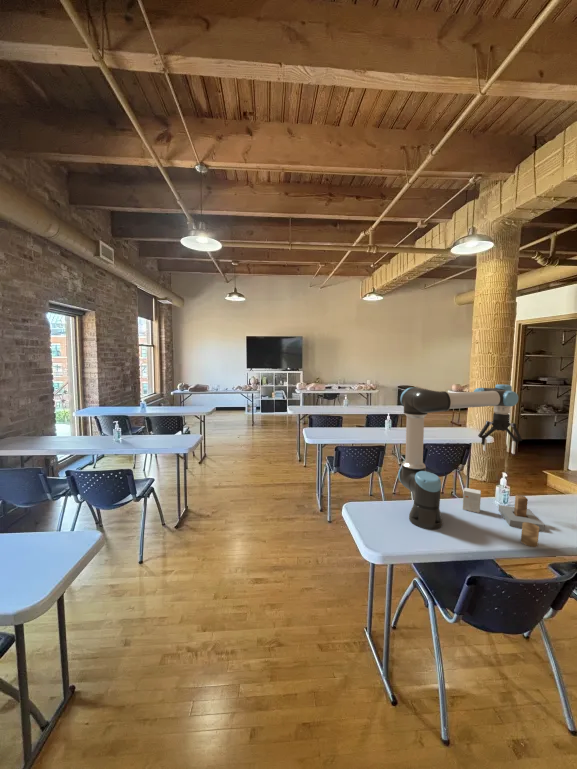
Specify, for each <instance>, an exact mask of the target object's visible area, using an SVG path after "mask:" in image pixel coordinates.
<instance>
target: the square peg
mask: <svg viewBox="0 0 577 769" xmlns="http://www.w3.org/2000/svg"><path fill="white" fill-rule="evenodd" d="M528 500H529V499H528V498H527V497H526V495H525V496H524V495H519V494H518V495H517V494H515V497H514V507H515V508H514V514H515V516H520V517H526V514H527V509H528V503H529V502H528Z"/></svg>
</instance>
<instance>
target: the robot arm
mask: <svg viewBox="0 0 577 769" xmlns="http://www.w3.org/2000/svg"><path fill="white" fill-rule="evenodd" d="M494 386H495V387H494V388H493V387H477V388H475V389H474V390H473V391H466V392H463V391H462V392H448V391H446V390H445V391H437V390H432V389H431V390H430V389H426V388H421V387H417V386H415V387H408V388H405V389H404V391H402V393H401V395H400V399H399V400H400V404H401V406H402V407H403V414H404V415H405V416H406V423H405V424H406V425H405V426H406V428H405V429H406V430H405V459H404V461H403V462H402V464H401V468H399V470H398V472H397V474H398V475H397V477H398V480H399V482H400V483H401V484H402V486H403V487H404V488H406V489H407V490H409V491H410V492H411V493H412V494H413V495H414V496H413V505H412V506H411V509H410V511H409V517H408V520H409V522H410V523H412V524H413V525H414V526H416V527H419V528H422V529H428V530H438V529H441V528H442V526H443V516H442V514H441V510H440V509H441V508H440V506H441V505H440V503H441V491H442V490H441V489H442V480H441V477H440V476H438V475H437V474H435V473H433V472H431V471H427V470H426V468H427V467H426V464H425V463H424V460H423V459H424V457H423V456H424V433H425V417H427V415H428V414H429V413H430V414H431V413H432V414H433V413H441V412H448V411H449V410H451V409H452V410H453V409H465V408H466V409H467V408H481V407H482V408H483V407H493V413H492V414H493V415H492V416H493V417H492V421H488V420H486V421H485V425H484V426H483V427H482V429H481V430H480V432H479V433H478V435H477V437H478V438H481V444H482V445H481V446H483V447H482V450H483V451H484V452H487V440H488V439H487V438H488V437H489V436H490V435H491V434H493V432H495V431H502V432H505V431H506V433H507V434H508V435H509V436H510V438H511V439H512V442H511V454H512V455H515V454H516V449H517V448H518V446H519V445H518V443H519V442H522V441H523V439H522V437H521V435H520V432H519V431H518V430H519V429H518V428H517V424H516V423H515V422H510V417H511V415H510V413H511V407H514V406H516V405H517V404H518V403H519V394H518V393H517V392H516V391H513V388H512V385H511V384H495V385H494ZM491 425H492V427H491V428H489V427H490V426H491ZM509 427H511V428H512V429H513V432H514V433H513V432H512V431H511V430H510V429H509ZM487 430H488V431H487ZM514 434H515V435H514Z"/></svg>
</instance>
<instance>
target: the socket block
mask: <svg viewBox="0 0 577 769" xmlns="http://www.w3.org/2000/svg"><path fill="white" fill-rule="evenodd" d="M514 508H515V506H508V505H503V504H502V505H501V504H499V505H498V511H499V513H500V514H501V516H502V518H503V519H504V520H505V521H506V523H507V524H508V525H509V527H513V528H514V527H515V528H520V529H522V524H523V523H524V522H529V523H533V524H535V525H537V526H538V527H539V532H544V530H545V524H544V523H543V522H542V521H541V520H540V519H539V517H537V515H536V514H535V513H534V512H533V511H532V510H531V508H527V514H526V517H520V516H515V514H514Z"/></svg>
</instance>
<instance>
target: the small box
mask: <svg viewBox="0 0 577 769" xmlns="http://www.w3.org/2000/svg"><path fill="white" fill-rule="evenodd" d="M481 496H482V490H481V489H474V488H469V487H464V488H463V497H462V510H463V511H468V512H473V513H477V514H480V510H481Z"/></svg>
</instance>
